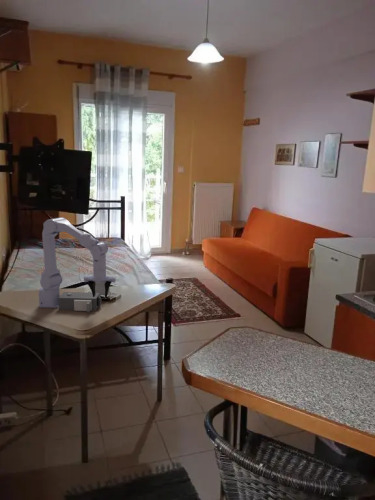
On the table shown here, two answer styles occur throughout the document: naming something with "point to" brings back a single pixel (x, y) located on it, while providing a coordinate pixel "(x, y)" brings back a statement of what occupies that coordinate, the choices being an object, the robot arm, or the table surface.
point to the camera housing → (68, 299)
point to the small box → (100, 288)
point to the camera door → (82, 305)
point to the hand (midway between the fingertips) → (100, 296)
